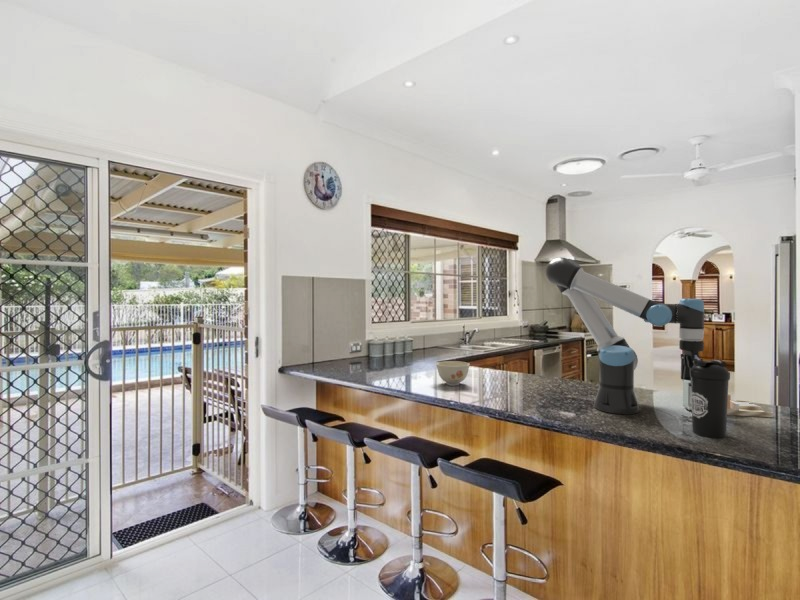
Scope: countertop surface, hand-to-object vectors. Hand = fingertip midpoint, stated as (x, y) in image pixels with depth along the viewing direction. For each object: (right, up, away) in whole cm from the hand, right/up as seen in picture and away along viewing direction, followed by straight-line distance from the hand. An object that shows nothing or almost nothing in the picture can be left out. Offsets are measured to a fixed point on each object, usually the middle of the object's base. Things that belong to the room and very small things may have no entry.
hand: (690, 401), depth 160 cm
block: (+9, -1, -2) cm, 9 cm away
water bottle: (-12, -4, -27) cm, 30 cm away
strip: (+6, -3, -2) cm, 7 cm away
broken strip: (+18, -3, +4) cm, 18 cm away
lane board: (+14, -3, 0) cm, 15 cm away
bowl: (-84, -3, +46) cm, 96 cm away
